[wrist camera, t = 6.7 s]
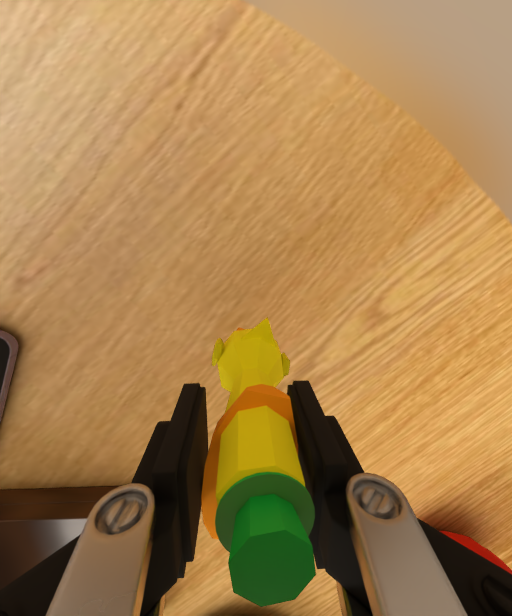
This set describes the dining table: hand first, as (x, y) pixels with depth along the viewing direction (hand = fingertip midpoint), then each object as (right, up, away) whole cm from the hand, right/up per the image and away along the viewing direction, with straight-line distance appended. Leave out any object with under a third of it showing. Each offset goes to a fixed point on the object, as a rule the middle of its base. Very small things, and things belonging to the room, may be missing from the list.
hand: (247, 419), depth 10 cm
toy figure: (0, +2, +7) cm, 7 cm away
